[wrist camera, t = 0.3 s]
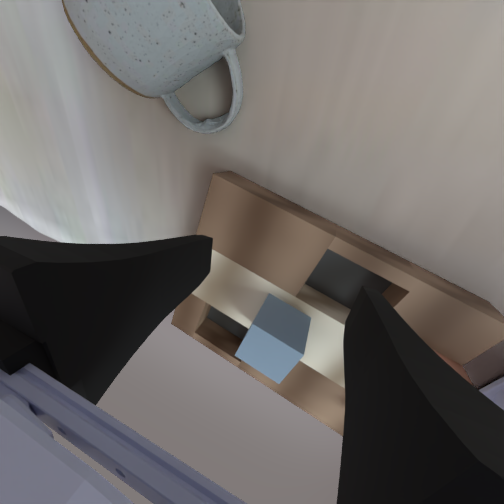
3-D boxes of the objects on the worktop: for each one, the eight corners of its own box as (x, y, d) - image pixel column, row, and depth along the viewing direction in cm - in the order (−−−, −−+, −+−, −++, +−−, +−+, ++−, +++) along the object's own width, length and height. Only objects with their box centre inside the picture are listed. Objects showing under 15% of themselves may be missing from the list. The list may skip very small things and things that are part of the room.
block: (311, 317, 18) (303, 355, 15) (289, 345, 20) (278, 384, 17) (269, 293, 19) (252, 323, 15) (252, 322, 21) (234, 355, 17)
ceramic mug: (132, 14, 17) (2, -69, 11) (214, -84, 13) (90, -310, 7) (193, 152, 20) (120, 153, 13) (275, 102, 16) (229, 71, 10)
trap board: (489, 302, 16) (543, 356, 12) (346, 409, 25) (346, 462, 21) (230, 170, 19) (197, 175, 15) (186, 308, 28) (158, 335, 24)
